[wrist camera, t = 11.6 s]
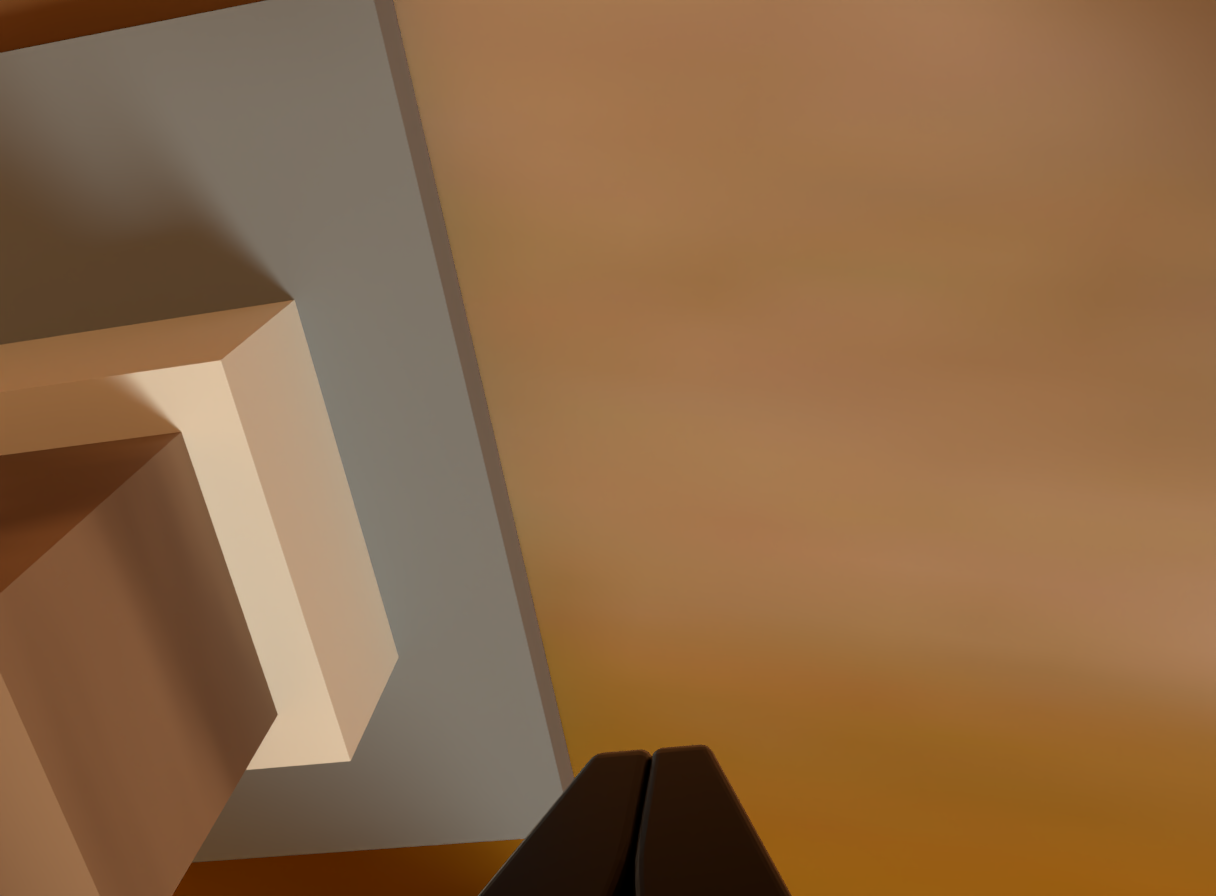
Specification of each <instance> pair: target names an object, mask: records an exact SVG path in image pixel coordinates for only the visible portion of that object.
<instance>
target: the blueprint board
mask: <svg viewBox="0 0 1216 896" xmlns="http://www.w3.org/2000/svg"><path fill="white" fill-rule="evenodd" d="M176 432H182V435H183V438H184V441H185V444H186V447H187V450H188V453H189V456H190V459H191V461H192V464H193V467H194V470H195V473H196V476H197V479H198V482H199V485H200V488H201V491H202V494H203V497H204V500H205V503H206V505H207V508H208V511H209V514H210V517H211V520H212V523H213V526H214V529H215V532H216V535H217V538H218V541H219V544H220V546H221V549H222V552H223V555H224V558H225V561H226V564H227V567H228V570H229V573H230V576H231V579H232V582H233V585H234V587H235V590H236V593H237V596H238V599H239V602H240V605H241V608H242V611H243V614H244V617H245V620H246V623H247V626H248V628H249V631H250V634H251V637H252V640H253V643H254V646H255V649H256V652H257V655H258V658H259V661H260V664H261V667H262V670H263V672H264V675H265V678H266V681H267V684H268V687H269V690H270V693H271V696H272V699H273V702H274V705H275V708H276V711H277V713H278V715H277V717H276V719H275V721H274V722H273V724H272V726H271V727H270V729H269V731H268V733H267V734H266V736H265V738H264V739H263V741H262V743H261V745H260V746H259V748H258V750H257V751H256V753H255V755H254V757H253V758H252V760H251V762H250V763H249V765H248V767H247V768H246V770H245V772H244V774H243V775H242V777H241V779H240V780H239V782H238V784H237V786H236V787H235V789H234V791H233V792H232V794H231V796H230V798H229V799H228V801H227V803H226V804H225V806H224V808H223V810H222V811H221V813H220V815H219V816H218V818H217V820H216V822H215V823H214V825H213V827H212V828H211V830H210V832H209V834H208V835H207V837H206V839H205V840H204V842H203V844H202V846H201V847H200V849H199V851H198V852H197V854H196V856H195V857H194V859H193V861H192V862H206V861H220V860H234V859H248V858H262V857H276V856H290V855H304V854H318V853H331V852H345V851H359V850H373V849H387V848H401V847H415V846H429V845H443V844H457V843H471V842H484V841H498V840H512V839H525V838H526V837H527V835H528V834H529V833H530V832H531V831H532V829H533V828H534V827H535V826H536V825H537V823H538V822H539V821H540V820H541V819H542V817H543V816H544V815H545V814H546V813H547V811H548V810H549V809H550V808H551V806H552V805H553V804H554V803H555V802H556V800H557V799H558V798H559V797H560V796H561V794H562V793H563V792H564V791H565V790H566V788H567V787H568V786H569V785H570V783H571V782H572V781H573V780H574V776H573V772H572V768H571V763H570V759H569V755H568V750H567V746H566V742H565V737H564V733H563V729H562V725H561V720H560V716H559V712H558V707H557V703H556V699H555V695H554V690H553V686H552V682H551V677H550V673H549V669H548V664H547V660H546V656H545V652H544V647H543V643H542V639H541V634H540V630H539V626H538V622H537V617H536V613H535V609H534V604H533V600H532V596H531V592H530V587H529V583H528V579H527V574H526V570H525V566H524V561H523V557H522V553H521V549H520V544H519V540H518V536H517V531H516V527H515V523H514V519H513V514H512V510H511V506H510V501H509V497H508V493H507V489H506V484H505V480H504V476H503V471H502V467H501V463H500V458H499V454H498V450H497V446H496V441H495V437H494V433H493V428H492V424H491V420H490V416H489V411H488V407H487V403H486V398H485V394H484V390H483V385H482V381H481V377H480V373H479V368H478V364H477V360H476V355H475V351H474V347H473V343H472V338H471V334H470V330H469V325H468V321H467V317H466V313H465V308H464V304H463V300H462V295H461V291H460V287H459V282H458V278H457V274H456V270H455V265H454V261H453V257H452V252H451V248H450V244H449V240H448V235H447V231H446V227H445V222H444V218H443V214H442V210H441V205H440V201H439V197H438V192H437V188H436V184H435V179H434V175H433V171H432V167H431V162H430V158H429V154H428V149H427V145H426V141H425V137H424V132H423V128H422V124H421V119H420V115H419V111H418V107H417V102H416V98H415V94H414V89H413V85H412V81H411V76H410V72H409V68H408V64H407V59H406V55H405V51H404V46H403V42H402V38H401V34H400V29H399V25H398V21H397V16H396V12H395V8H394V3H393V0H266V1H260V2H255V3H250V4H245V5H240V6H235V7H230V8H225V9H220V10H215V11H210V12H205V13H200V14H195V15H190V16H184V17H179V18H174V19H169V20H164V21H159V22H154V23H149V24H144V25H139V26H134V27H129V28H124V29H119V30H113V31H108V32H103V33H98V34H93V35H88V36H83V37H78V38H73V39H68V40H63V41H58V42H53V43H48V44H42V45H37V46H32V47H27V48H22V49H17V50H12V51H7V52H2V53H0V455H8V454H16V453H23V452H31V451H38V450H46V449H54V448H61V447H69V446H77V445H84V444H92V443H100V442H107V441H115V440H122V439H130V438H138V437H145V436H153V435H161V434H168V433H176Z"/></svg>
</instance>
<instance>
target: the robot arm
mask: <svg viewBox="0 0 1216 896" xmlns="http://www.w3.org/2000/svg"><path fill="white" fill-rule="evenodd" d="M478 896H791V894H790V892H789V890H788V888H787V887H786V885H785V883H784V881H783V879H782V877H781V876H780V874H779V872H778V870H777V868H776V866H775V865H774V863H773V861H772V859H771V857H770V856H769V854H768V852H767V850H766V848H765V846H764V845H763V843H762V841H761V839H760V837H759V836H758V834H757V832H756V830H755V828H754V826H753V825H752V823H751V821H750V819H749V817H748V815H747V814H746V812H745V810H744V808H743V806H742V805H741V803H740V801H739V799H738V797H737V795H736V794H735V792H734V790H733V788H732V786H731V785H730V783H729V781H728V779H727V777H726V775H725V774H724V772H723V770H722V768H721V766H720V764H719V763H718V761H717V759H716V757H715V755H714V754H713V752H712V751H711V749H710V748H709V747H707V746H705V745H691V746H679V747H667V748H660V749H658V750H657V751H656V752H654V754H653V756H651V755H650V754H649V752H647V751H645V750H631V751H619V752H607V753H600V754H597V755H595V756H594V757H593V758H592V759H591V760H590V761H589V762H588V763H587V764H586V765H585V767H584V768H583V769H582V770H581V771H580V773H579V774H578V775H577V776H576V777H575V779H574V780H573V781H572V782H571V783H570V785H569V786H568V787H567V788H566V790H565V791H564V792H563V793H562V794H561V796H560V797H559V798H558V799H557V800H556V802H555V803H554V804H553V805H552V806H551V808H550V809H549V810H548V811H547V813H546V814H545V815H544V816H543V817H542V819H541V820H540V821H539V822H538V823H537V825H536V826H535V827H534V828H533V829H532V831H531V832H530V833H529V834H528V835H527V837H526V838H525V839H524V840H523V842H522V843H521V844H520V845H519V846H518V848H517V849H516V850H515V851H514V852H513V854H512V855H511V856H510V857H509V858H508V860H507V861H506V862H505V863H504V865H503V866H502V867H501V868H500V869H499V871H498V872H497V873H496V874H495V875H494V877H493V878H492V879H491V880H490V881H489V883H488V884H487V885H486V886H485V887H484V889H483V890H482V891H481V892H480V894H479V895H478Z"/></svg>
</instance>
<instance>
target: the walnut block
mask: <svg viewBox="0 0 1216 896" xmlns="http://www.w3.org/2000/svg"><path fill="white" fill-rule="evenodd" d="M277 715H278V713H277V711H276V708H275V705H274V702H273V699H272V696H271V693H270V690H269V687H268V684H267V681H266V678H265V675H264V672H263V670H262V667H261V664H260V661H259V658H258V655H257V652H256V649H255V646H254V643H253V640H252V637H251V634H250V631H249V628H248V626H247V623H246V620H245V617H244V614H243V611H242V608H241V605H240V602H239V599H238V596H237V593H236V590H235V587H234V585H233V582H232V579H231V576H230V573H229V570H228V567H227V564H226V561H225V558H224V555H223V552H222V549H221V546H220V544H219V541H218V538H217V535H216V532H215V529H214V526H213V523H212V520H211V517H210V514H209V511H208V508H207V505H206V503H205V500H204V497H203V494H202V491H201V488H200V485H199V482H198V479H197V476H196V473H195V470H194V467H193V464H192V461H191V459H190V456H189V453H188V450H187V447H186V444H185V441H184V438H183V435H182V432H176V433H168V434H161V435H153V436H145V437H138V438H130V439H122V440H115V441H107V442H100V443H92V444H84V445H77V446H69V447H61V448H54V449H46V450H38V451H31V452H23V453H16V454H8V455H0V896H172V895H173V893H174V892H175V890H176V888H177V887H178V885H179V883H180V881H181V880H182V878H183V876H184V875H185V873H186V871H187V869H188V868H189V866H190V864H191V863H192V861H193V859H194V857H195V856H196V854H197V852H198V851H199V849H200V847H201V846H202V844H203V842H204V840H205V839H206V837H207V835H208V834H209V832H210V830H211V828H212V827H213V825H214V823H215V822H216V820H217V818H218V816H219V815H220V813H221V811H222V810H223V808H224V806H225V804H226V803H227V801H228V799H229V798H230V796H231V794H232V792H233V791H234V789H235V787H236V786H237V784H238V782H239V780H240V779H241V777H242V775H243V774H244V772H245V770H246V768H247V767H248V765H249V763H250V762H251V760H252V758H253V757H254V755H255V753H256V751H257V750H258V748H259V746H260V745H261V743H262V741H263V739H264V738H265V736H266V734H267V733H268V731H269V729H270V727H271V726H272V724H273V722H274V721H275V719H276V717H277Z"/></svg>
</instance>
